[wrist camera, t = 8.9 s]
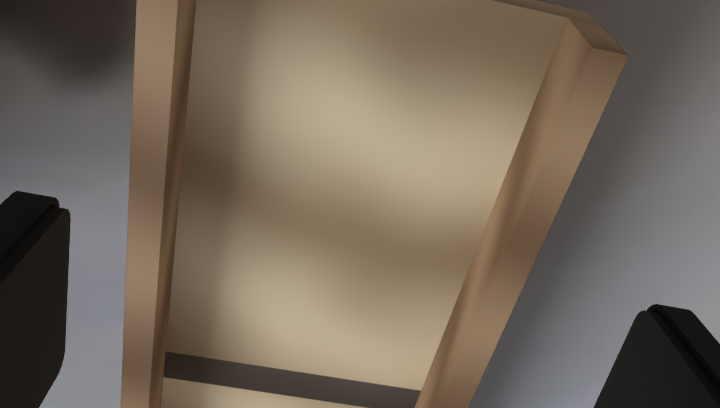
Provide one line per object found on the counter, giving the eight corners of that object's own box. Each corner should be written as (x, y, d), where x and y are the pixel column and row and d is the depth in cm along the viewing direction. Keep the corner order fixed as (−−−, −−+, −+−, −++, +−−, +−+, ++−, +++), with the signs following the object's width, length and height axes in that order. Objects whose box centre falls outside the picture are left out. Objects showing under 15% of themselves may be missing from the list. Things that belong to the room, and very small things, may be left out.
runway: (186, -90, 18) (114, -81, 12) (563, -3, 19) (660, 42, 13) (125, 512, 27) (68, 678, 22) (381, 544, 29) (392, 709, 23)
